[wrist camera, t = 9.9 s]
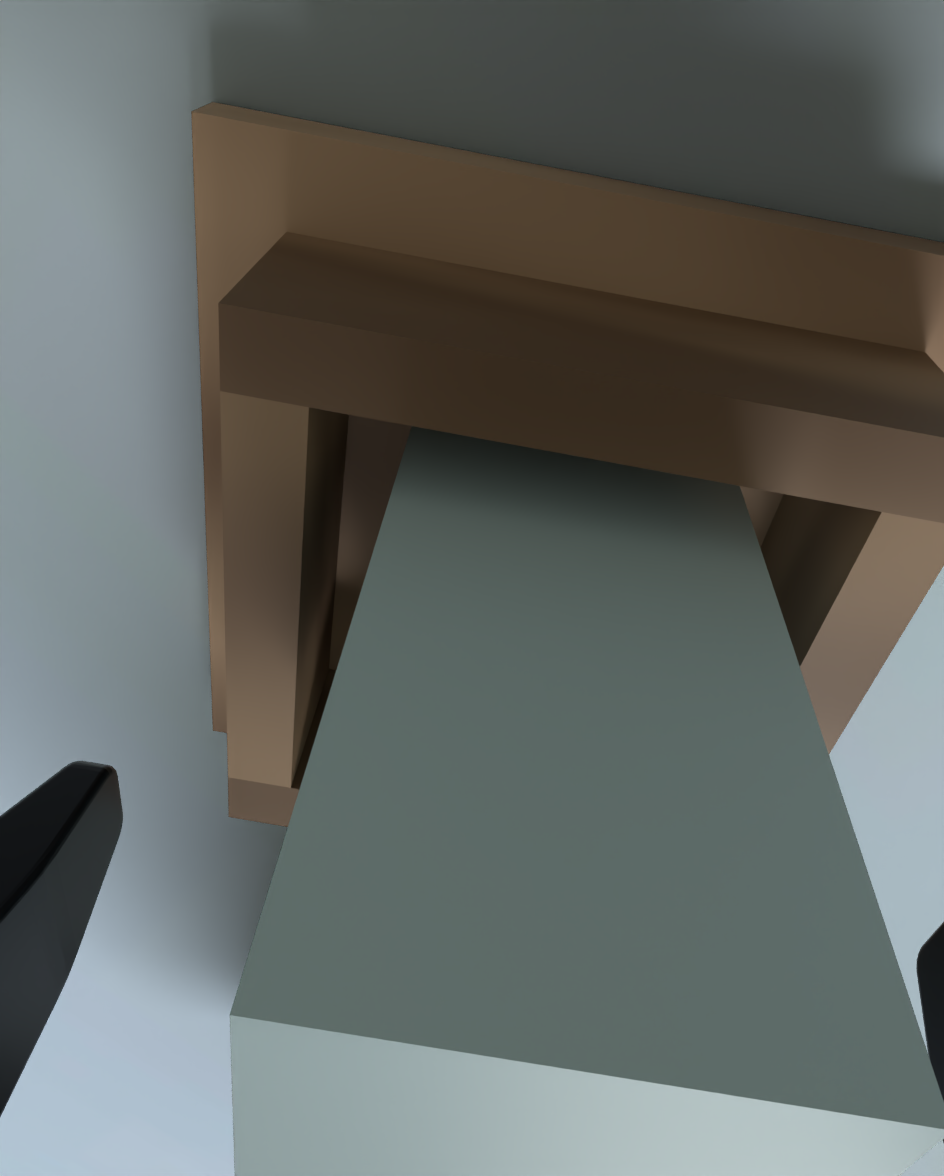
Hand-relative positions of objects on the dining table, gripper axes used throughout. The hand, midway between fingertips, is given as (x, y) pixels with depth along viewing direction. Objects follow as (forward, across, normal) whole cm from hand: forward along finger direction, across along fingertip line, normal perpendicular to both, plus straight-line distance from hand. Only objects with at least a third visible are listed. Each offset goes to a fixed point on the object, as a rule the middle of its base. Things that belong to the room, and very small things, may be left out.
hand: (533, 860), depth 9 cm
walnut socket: (+7, 0, 0) cm, 7 cm away
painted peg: (+6, 0, 0) cm, 6 cm away
